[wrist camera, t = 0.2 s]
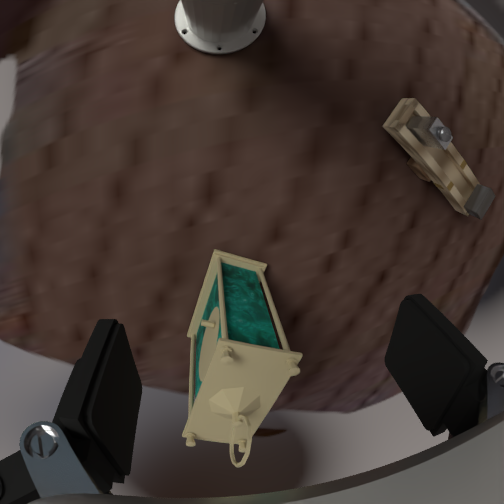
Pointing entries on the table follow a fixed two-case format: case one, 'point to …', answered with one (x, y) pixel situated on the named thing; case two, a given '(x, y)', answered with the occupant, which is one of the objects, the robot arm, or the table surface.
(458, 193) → the beam
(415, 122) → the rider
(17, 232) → the table surface
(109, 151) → the table surface
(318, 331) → the table surface
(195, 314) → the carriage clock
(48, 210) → the table surface
